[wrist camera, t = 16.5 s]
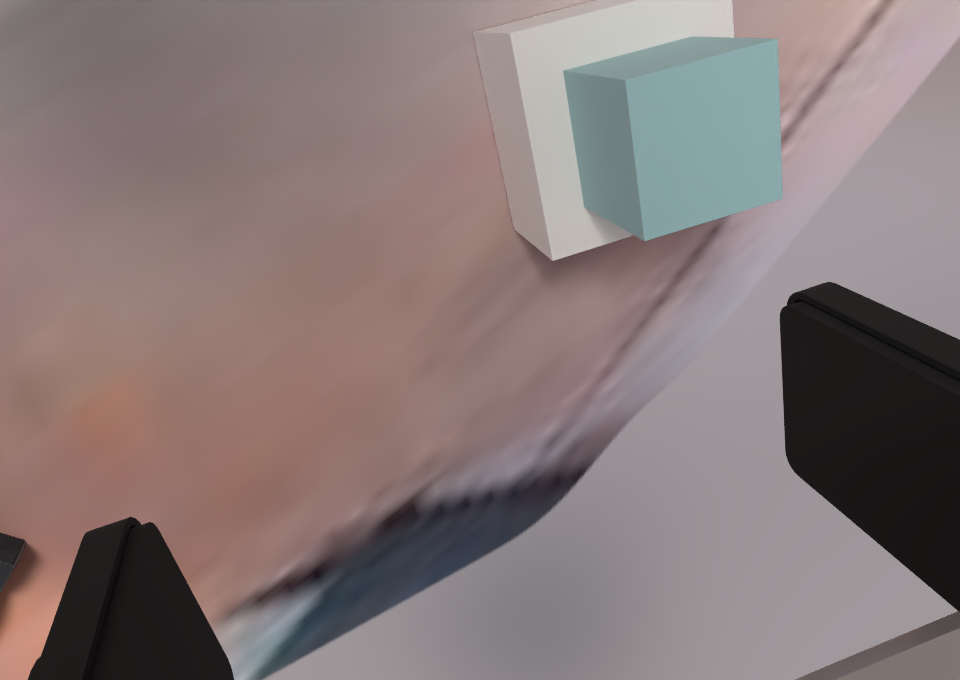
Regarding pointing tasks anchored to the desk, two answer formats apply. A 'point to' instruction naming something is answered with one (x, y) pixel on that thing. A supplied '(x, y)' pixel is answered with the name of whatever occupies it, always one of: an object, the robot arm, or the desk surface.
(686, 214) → the teal cube
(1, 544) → the disk drive
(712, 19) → the cream block
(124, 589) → the robot arm
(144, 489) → the desk surface
